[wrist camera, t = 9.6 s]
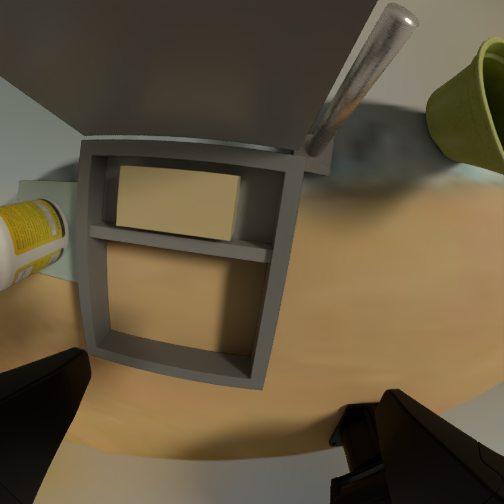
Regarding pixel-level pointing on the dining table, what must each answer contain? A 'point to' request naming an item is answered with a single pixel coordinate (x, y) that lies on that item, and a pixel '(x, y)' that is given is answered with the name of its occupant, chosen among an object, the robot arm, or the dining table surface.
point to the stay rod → (358, 84)
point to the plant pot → (472, 111)
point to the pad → (66, 200)
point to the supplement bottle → (30, 238)
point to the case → (184, 237)
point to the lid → (181, 64)
